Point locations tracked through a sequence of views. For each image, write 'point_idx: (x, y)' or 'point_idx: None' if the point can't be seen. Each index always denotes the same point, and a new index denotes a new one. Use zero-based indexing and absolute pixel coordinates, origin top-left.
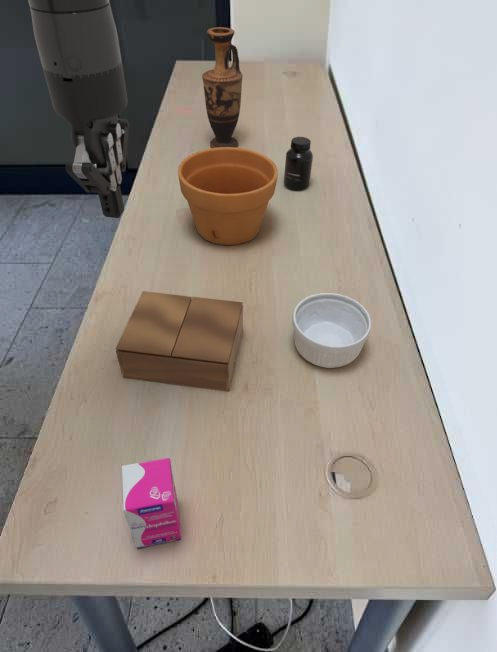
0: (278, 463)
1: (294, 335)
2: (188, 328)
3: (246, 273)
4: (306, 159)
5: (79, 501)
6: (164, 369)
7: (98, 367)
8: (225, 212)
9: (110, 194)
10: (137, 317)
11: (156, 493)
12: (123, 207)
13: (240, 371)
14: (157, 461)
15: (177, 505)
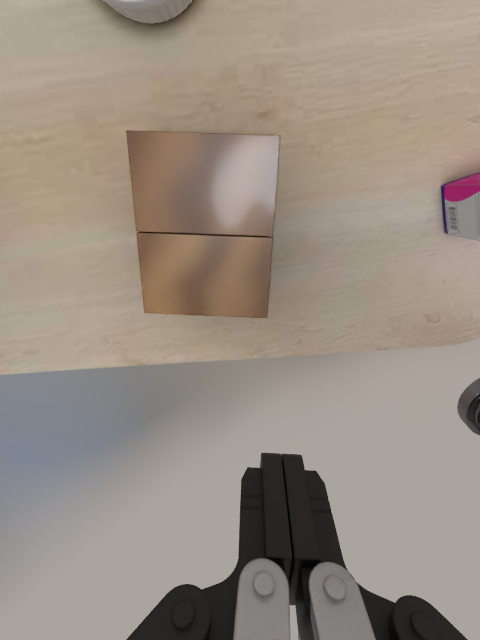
0: (401, 38)
1: (161, 12)
2: (212, 221)
3: (4, 154)
4: None
5: (430, 293)
6: None
7: (252, 329)
8: None
9: (340, 562)
10: (202, 305)
11: None
12: (267, 463)
13: (234, 130)
14: None
15: (478, 177)
